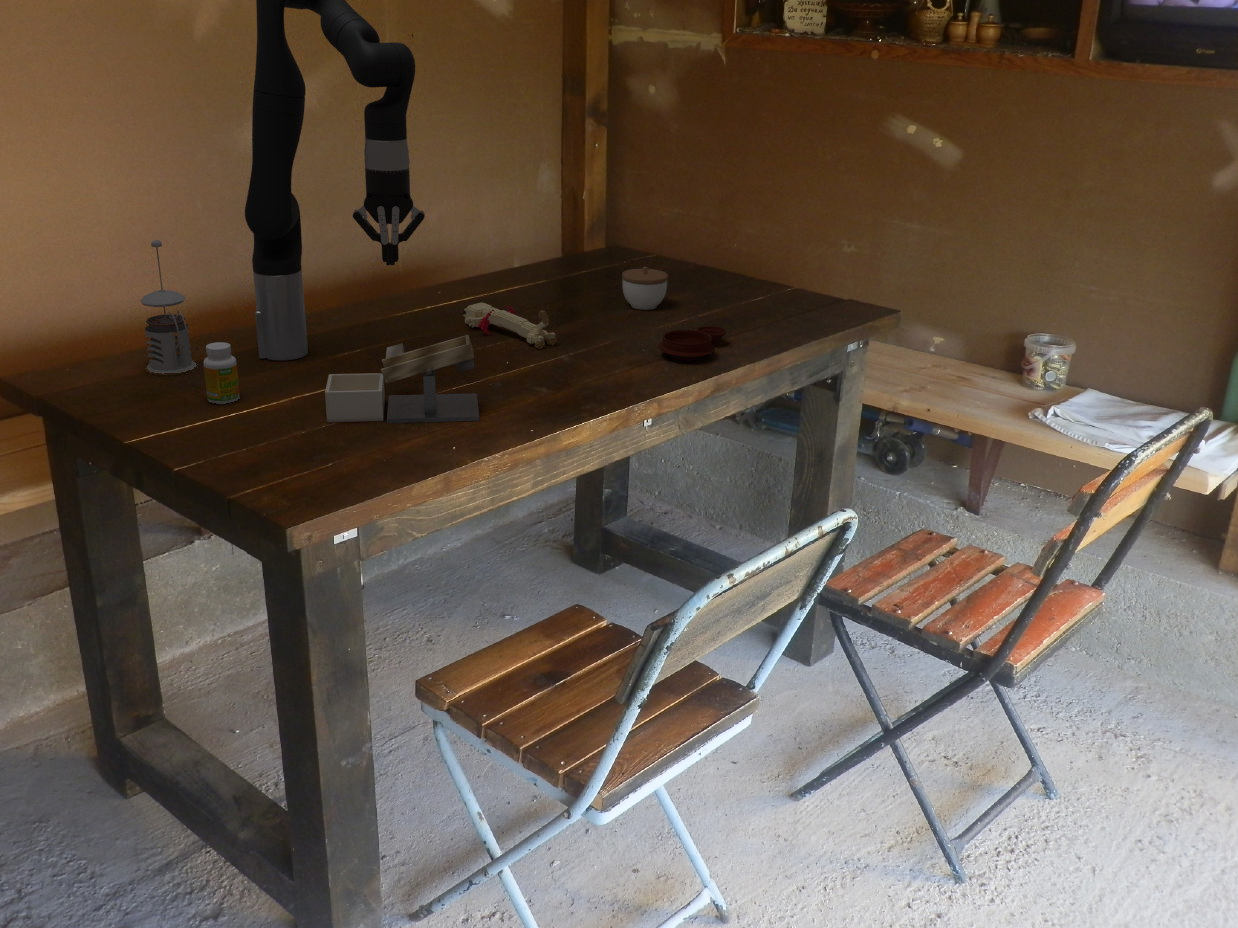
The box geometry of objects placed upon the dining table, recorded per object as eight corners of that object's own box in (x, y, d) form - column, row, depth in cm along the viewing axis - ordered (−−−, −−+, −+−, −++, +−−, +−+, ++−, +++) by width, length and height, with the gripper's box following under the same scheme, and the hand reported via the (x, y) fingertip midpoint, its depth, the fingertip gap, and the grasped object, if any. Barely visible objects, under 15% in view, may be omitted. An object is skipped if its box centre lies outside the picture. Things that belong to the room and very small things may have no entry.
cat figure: (563, 348, 256) (483, 314, 271) (566, 309, 253) (484, 277, 267) (529, 358, 249) (449, 323, 264) (532, 318, 246) (451, 285, 260)
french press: (183, 356, 239) (169, 232, 230) (211, 371, 232) (197, 243, 222) (135, 366, 233) (118, 238, 223) (162, 382, 226) (146, 250, 216)
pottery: (647, 359, 247) (648, 338, 246) (693, 335, 263) (694, 316, 262) (698, 369, 242) (699, 348, 240) (741, 345, 258) (742, 325, 256)
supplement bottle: (222, 407, 214) (216, 352, 210) (200, 400, 217) (194, 346, 213) (246, 398, 219) (241, 344, 215) (225, 392, 222) (219, 339, 218)
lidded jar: (674, 305, 285) (676, 266, 281) (651, 315, 277) (653, 275, 273) (636, 297, 290) (637, 259, 286) (612, 307, 282) (613, 268, 278)
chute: (388, 395, 209) (380, 372, 207) (391, 367, 223) (383, 345, 221) (477, 370, 210) (469, 347, 208) (474, 343, 224) (467, 321, 222)
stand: (387, 423, 210) (385, 380, 206) (388, 399, 220) (386, 359, 217) (479, 420, 212) (478, 379, 209) (476, 397, 223) (475, 357, 220)
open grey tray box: (327, 422, 209) (324, 392, 207) (331, 403, 218) (329, 374, 216) (383, 420, 211) (381, 391, 208) (384, 401, 219) (383, 373, 217)
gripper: (346, 168, 202) (351, 269, 209) (425, 169, 204) (428, 269, 211) (349, 161, 209) (354, 259, 216) (426, 162, 211) (428, 259, 218)
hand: (390, 264), depth 214 cm, fingers closed
